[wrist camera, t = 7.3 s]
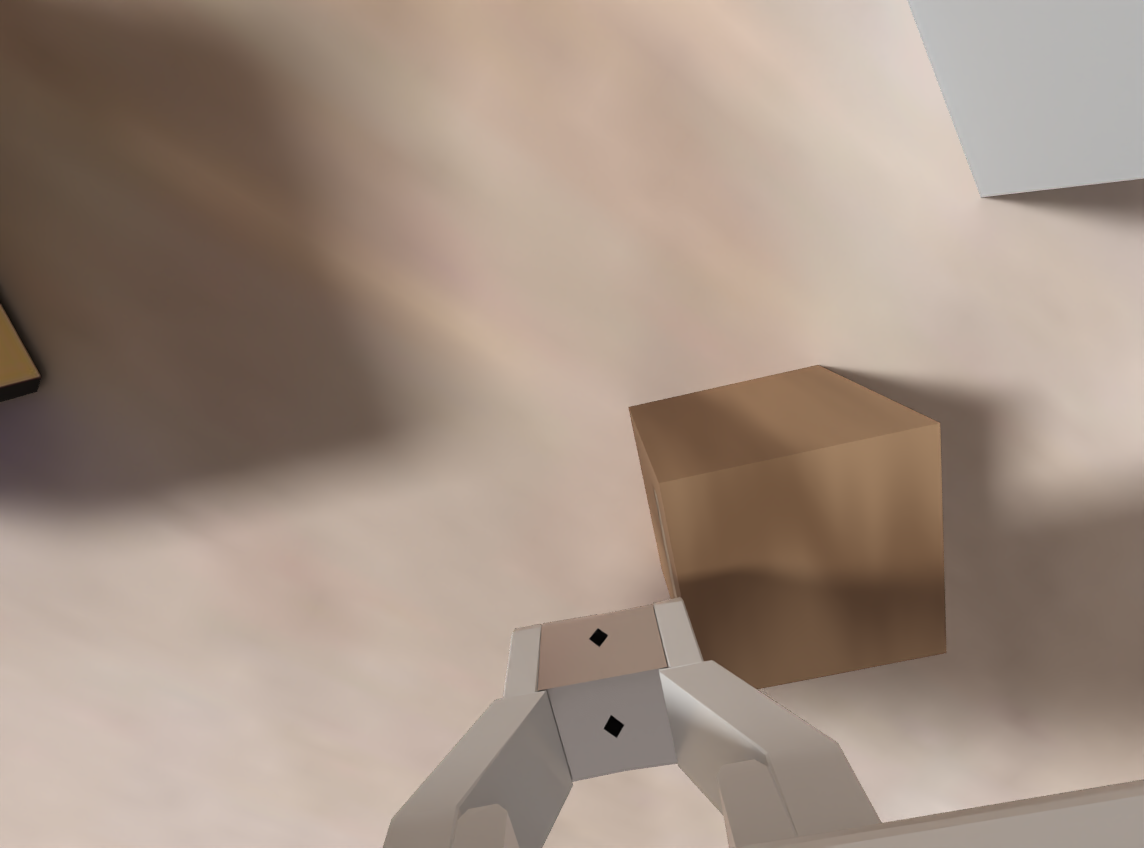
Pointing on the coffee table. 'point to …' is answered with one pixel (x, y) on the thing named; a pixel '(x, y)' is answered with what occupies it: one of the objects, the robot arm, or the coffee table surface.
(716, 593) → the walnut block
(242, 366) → the coffee table surface
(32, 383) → the puzzle cube
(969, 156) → the grey-blue block
